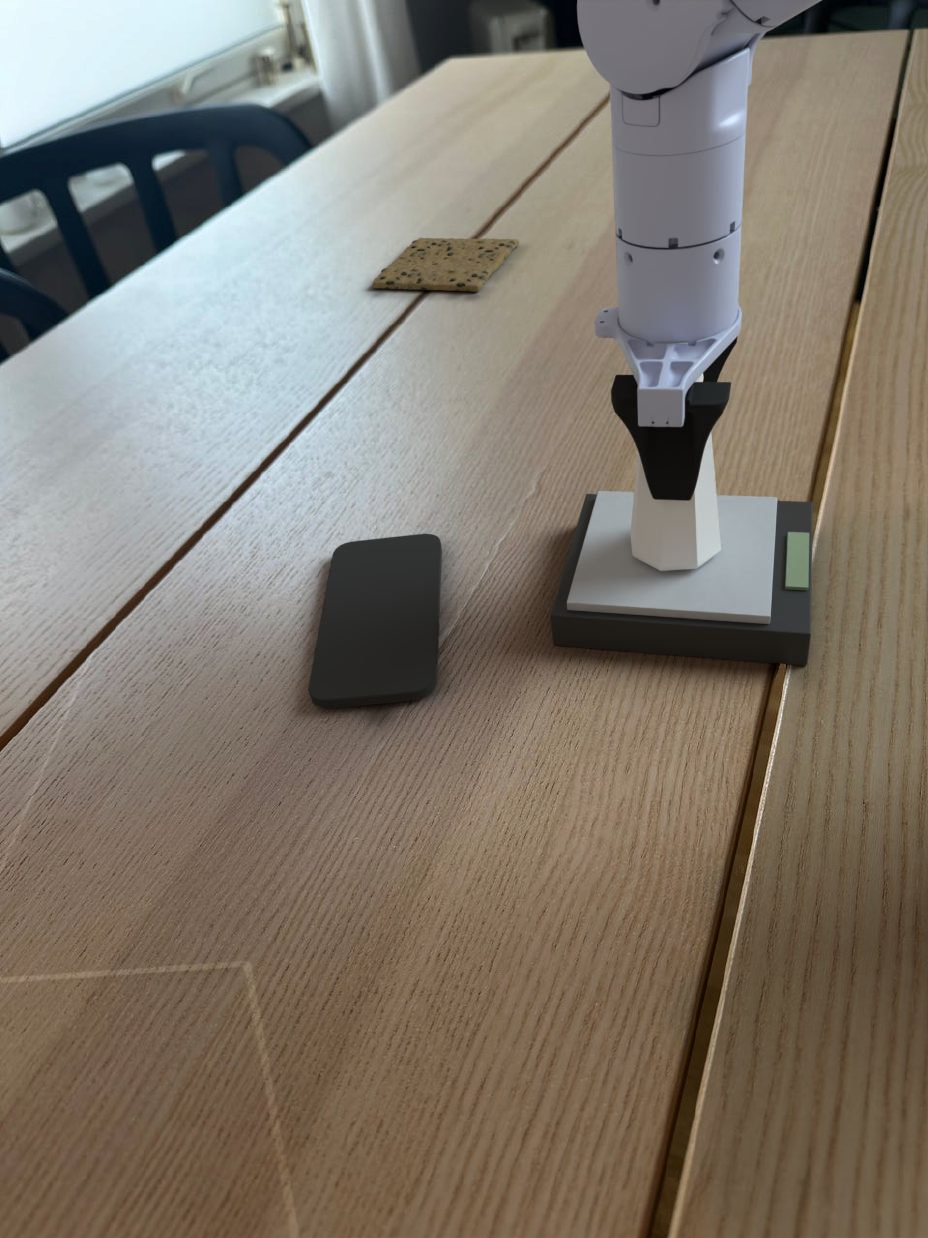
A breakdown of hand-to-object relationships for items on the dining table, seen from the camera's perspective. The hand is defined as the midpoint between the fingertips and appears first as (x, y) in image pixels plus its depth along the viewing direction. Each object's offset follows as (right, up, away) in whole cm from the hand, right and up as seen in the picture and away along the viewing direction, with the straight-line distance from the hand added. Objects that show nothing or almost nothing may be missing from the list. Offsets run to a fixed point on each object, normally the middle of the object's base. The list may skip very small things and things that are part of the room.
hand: (676, 473), depth 54 cm
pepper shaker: (+1, -4, +3) cm, 5 cm away
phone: (-17, -8, +7) cm, 20 cm away
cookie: (-13, +28, +48) cm, 57 cm away
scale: (+2, -6, +5) cm, 8 cm away
